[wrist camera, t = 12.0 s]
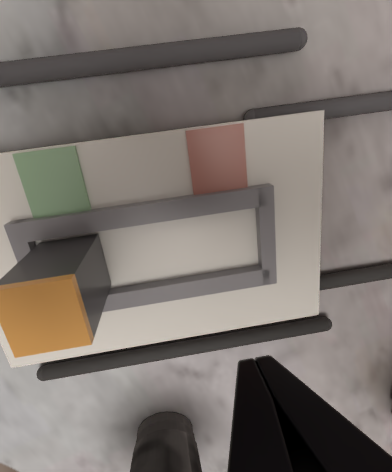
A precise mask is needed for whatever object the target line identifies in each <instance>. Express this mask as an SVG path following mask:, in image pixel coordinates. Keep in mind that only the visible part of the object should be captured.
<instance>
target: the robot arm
mask: <svg viewBox="0 0 392 472" xmlns="http://www.w3.org/2000/svg"><path fill="white" fill-rule="evenodd" d="M228 472H392V456H390V455H389V454H388V453H387V452H386V451H384V450H383V449H382V448H381V447H380V446H378V445H377V444H376V443H375V442H374V441H372V440H371V439H370V438H369V437H368V436H366V435H365V434H364V433H363V432H362V431H360V430H359V429H358V428H357V427H356V426H354V425H353V424H352V423H351V422H350V421H348V420H347V419H346V418H345V417H344V416H342V415H341V414H340V413H339V412H338V411H336V410H335V409H334V408H333V407H332V406H330V405H329V404H328V403H327V402H326V401H324V400H323V399H322V398H321V397H320V396H318V395H317V394H316V393H315V392H314V391H312V390H311V389H310V388H309V387H308V386H306V385H305V384H304V383H303V382H302V381H300V380H299V379H298V378H297V377H296V376H294V375H293V374H292V373H291V372H290V371H288V370H287V369H286V368H285V367H284V366H282V365H281V364H280V363H279V362H278V361H276V360H275V359H274V358H273V357H272V356H269V355H267V356H261V357H256V358H255V360H254V359H252V358H250V359H245V360H240V361H239V362H238V368H237V378H236V389H235V399H234V410H233V420H232V431H231V441H230V451H229V462H228Z"/></svg>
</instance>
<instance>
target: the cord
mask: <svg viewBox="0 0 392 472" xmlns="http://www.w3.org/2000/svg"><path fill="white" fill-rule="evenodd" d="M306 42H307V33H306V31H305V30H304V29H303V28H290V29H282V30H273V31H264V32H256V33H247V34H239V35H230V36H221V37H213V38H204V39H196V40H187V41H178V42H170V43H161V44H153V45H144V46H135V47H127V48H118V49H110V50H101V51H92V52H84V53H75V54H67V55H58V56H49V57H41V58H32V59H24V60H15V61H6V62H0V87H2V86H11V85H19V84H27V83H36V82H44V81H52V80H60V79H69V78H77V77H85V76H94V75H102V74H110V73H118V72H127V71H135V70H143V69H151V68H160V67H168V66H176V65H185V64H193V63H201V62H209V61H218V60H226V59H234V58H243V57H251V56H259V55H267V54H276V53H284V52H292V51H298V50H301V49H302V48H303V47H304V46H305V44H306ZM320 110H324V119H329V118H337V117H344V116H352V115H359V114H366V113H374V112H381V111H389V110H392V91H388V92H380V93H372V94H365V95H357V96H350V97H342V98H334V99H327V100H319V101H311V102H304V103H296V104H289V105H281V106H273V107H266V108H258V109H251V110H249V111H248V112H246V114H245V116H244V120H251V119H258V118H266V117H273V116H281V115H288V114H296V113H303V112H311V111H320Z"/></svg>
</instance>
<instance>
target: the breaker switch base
mask: <svg viewBox="0 0 392 472" xmlns="http://www.w3.org/2000/svg"><path fill="white" fill-rule="evenodd" d="M323 144H324V110H320V111H311V112H303V113H296V114H288V115H281V116H273V117H266V118H258V119H251V120H242V121H234V122H227V123H219V124H212V125H204V126H197V127H189V128H182V129H174V130H167V131H159V132H151V133H144V134H136V135H129V136H121V137H114V138H106V139H99V140H91V141H84V142H76V143H69V144H61V145H54V146H46V147H39V148H31V149H24V150H16V151H9V152H1V153H0V279H1V278H2V277H3V276H4V275H5V274H6V273H8V272H9V271H10V270H11V269H12V268H13V267H14V266H15V265H16V264H17V263H18V262H19V261H20V260H21V259H22V258H24V257H25V256H26V255H27V254H28V253H29V252H30V251H31V250H32V249H33V248H34V247H35V246H36V245H37V244H38V243H40V242H46V241H53V240H60V239H66V238H73V237H80V236H86V235H93V234H99V237H100V241H101V245H102V249H103V253H104V257H105V261H106V265H107V269H108V273H109V276H110V280H111V287H110V290H109V293H108V297H107V300H106V303H105V306H104V309H103V312H102V315H101V318H100V321H99V324H98V327H97V330H96V334H95V337H94V340H93V343H92V345H88V346H82V347H76V348H70V349H64V350H58V351H53V352H47V353H41V354H35V355H29V356H24V357H18V358H15V357H14V355H13V352H12V350H11V348H10V345H9V343H8V341H7V338H6V336H5V334H4V331H3V329H2V327H1V325H0V343H1V346H2V348H3V350H4V352H5V355H6V357H7V359H8V361H9V364H10V366H11V368H15V367H20V366H26V365H32V364H38V363H43V362H49V361H55V360H61V359H66V358H72V357H78V356H84V355H89V354H95V353H101V352H107V351H113V350H118V349H124V348H130V347H136V346H141V345H147V344H153V343H159V342H164V341H170V340H176V339H182V338H187V337H193V336H199V335H205V334H211V333H216V332H222V331H228V330H234V329H239V328H245V327H251V326H257V325H262V324H268V323H274V322H280V321H285V320H291V319H297V318H303V317H308V316H314V315H319V291H320V254H321V217H322V181H323Z"/></svg>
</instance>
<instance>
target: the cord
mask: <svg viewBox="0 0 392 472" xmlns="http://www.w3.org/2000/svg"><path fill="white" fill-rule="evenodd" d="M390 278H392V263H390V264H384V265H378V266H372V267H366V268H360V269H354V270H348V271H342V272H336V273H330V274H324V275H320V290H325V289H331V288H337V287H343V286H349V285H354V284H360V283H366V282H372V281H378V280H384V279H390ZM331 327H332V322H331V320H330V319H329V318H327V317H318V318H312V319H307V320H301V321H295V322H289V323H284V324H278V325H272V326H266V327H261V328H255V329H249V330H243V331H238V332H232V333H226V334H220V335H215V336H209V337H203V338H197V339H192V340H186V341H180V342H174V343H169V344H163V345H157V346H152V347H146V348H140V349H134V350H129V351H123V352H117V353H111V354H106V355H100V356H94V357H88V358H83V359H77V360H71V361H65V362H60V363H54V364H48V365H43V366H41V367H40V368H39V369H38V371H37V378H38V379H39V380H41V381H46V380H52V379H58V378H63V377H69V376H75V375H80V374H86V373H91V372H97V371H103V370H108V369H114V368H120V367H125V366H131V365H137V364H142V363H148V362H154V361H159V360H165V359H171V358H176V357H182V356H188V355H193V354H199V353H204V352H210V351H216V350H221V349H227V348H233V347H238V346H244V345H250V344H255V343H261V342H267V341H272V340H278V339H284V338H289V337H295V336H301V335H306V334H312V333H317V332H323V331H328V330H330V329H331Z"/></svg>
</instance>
